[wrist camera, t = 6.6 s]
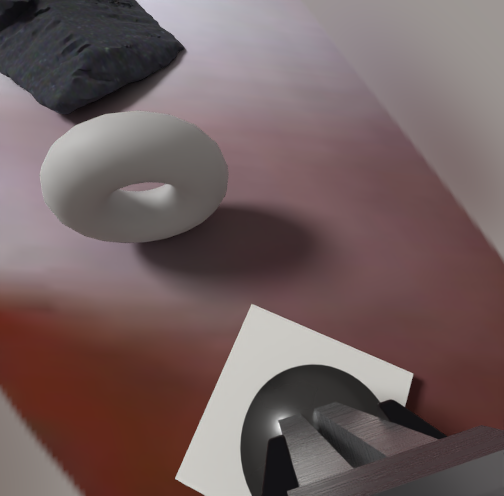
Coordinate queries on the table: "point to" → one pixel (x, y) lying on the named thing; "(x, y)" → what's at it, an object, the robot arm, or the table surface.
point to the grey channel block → (361, 443)
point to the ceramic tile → (254, 377)
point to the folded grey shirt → (80, 48)
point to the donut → (133, 177)
